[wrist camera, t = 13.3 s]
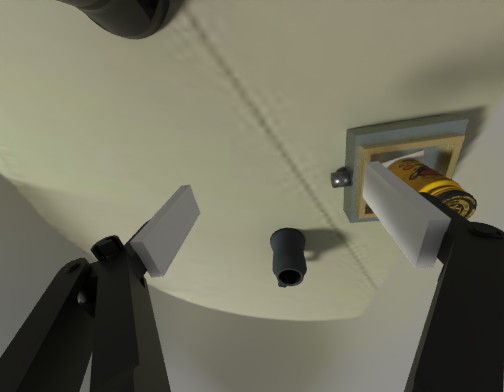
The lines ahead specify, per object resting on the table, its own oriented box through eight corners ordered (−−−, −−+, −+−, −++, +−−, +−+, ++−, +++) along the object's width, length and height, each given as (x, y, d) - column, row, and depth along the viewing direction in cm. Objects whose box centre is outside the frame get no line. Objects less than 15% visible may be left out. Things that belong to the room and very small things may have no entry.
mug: (273, 224, 50) (273, 259, 41) (309, 231, 50) (317, 267, 40) (265, 257, 56) (262, 294, 47) (297, 264, 56) (301, 302, 47)
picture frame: (329, 132, 38) (339, 140, 32) (445, 114, 35) (478, 120, 29) (329, 210, 46) (337, 228, 41) (422, 202, 43) (444, 220, 37)
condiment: (423, 149, 33) (490, 180, 23) (425, 191, 37) (484, 235, 26) (375, 164, 35) (416, 199, 25) (382, 203, 39) (420, 247, 28)
